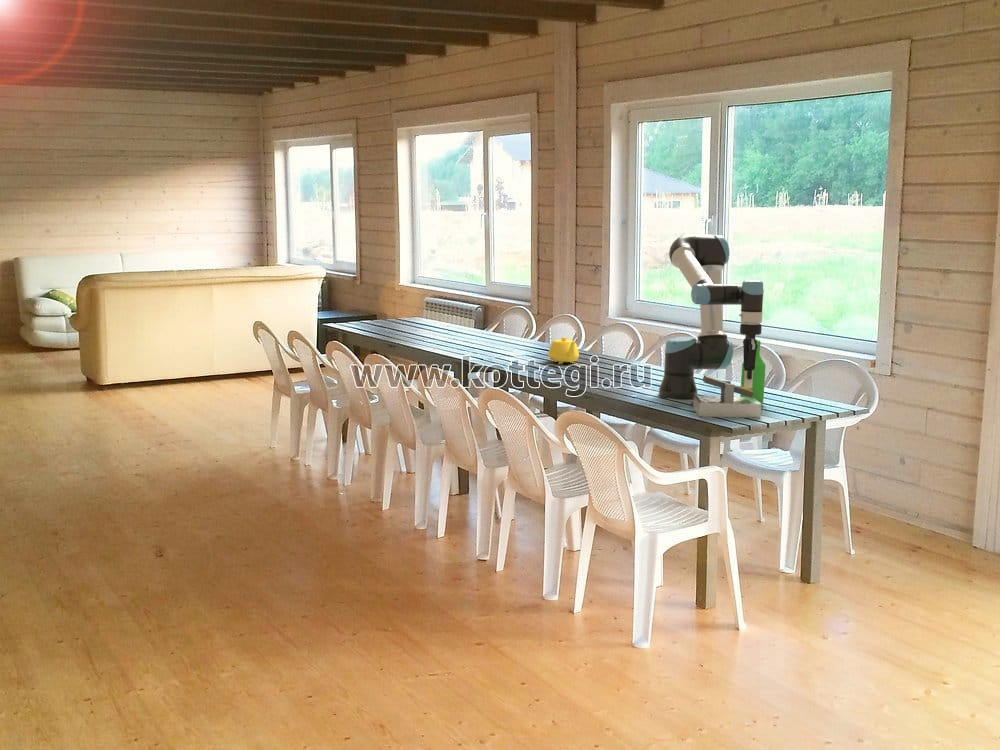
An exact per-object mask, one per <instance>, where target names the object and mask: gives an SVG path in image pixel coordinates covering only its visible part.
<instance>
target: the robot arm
mask: <svg viewBox="0 0 1000 750" xmlns="http://www.w3.org/2000/svg"><path fill="white" fill-rule="evenodd" d="M668 255H669V256H668V257H669V260H670V262H671V263H672V265H673V266H674V267H675V268H677V269H679V271H680V272H681V273H682V275H683V277H684V278H685V281H687V282H688V284H689V285H690V287H691V291H690V297H691V301H692V303H693V304H695V305H699V307H700V308H699V309H700V311H699V312H700V314H699V315H700V332H699V334H698V335H697V339H696V338H695V337H694V336H685V335H684V336H675V337H672V338H669V339H667V340H666V342H665V349H664V370H663V378H662V381H661V383H660V386H659V389H658V395H659V396H660V397H663V398H666V399H667V398H668V399H675V400H677V399H678V400H679V399H680V400H685V399H689V400H690V399H694V393H695V394H696V395H697V396H698V389H697V385H696V382H695V381H696V380H695V377H694V375H695V373H694V372H695V370H713V371H714V370H715V371H717V370H724V369H727V368H728V367H729V366H730V364H731V362H732V360H733V357H734V356H733V355H734V345H733V342H732V341H731V340H730V339H728V334H727V333H725V331H724V323H723V322H724V321H723V305H726V306H727V305H731V306H732V305H734V306H735V305H736V306H737V305H740V313H739V315H738V316H739V317H740V322H741V323H740V325H739V327H740V328H739V333H740V334H741V335H745V336H744V339H743V340H742V345H743V362H744V365H743V366H744V368H745V369H744V370H745V375H744V388H752V383H753V370H754V369H755V360H756V350H757V340H758V339H756V336H759V335H761V334H762V330H763V329H762V328H763V327H762V324H761V323H762V322H763V304H764V301H763V300H764V292H765V291H764V282H763V281H762V280H756V279H755V280H754V279H752V280H751V279H747V280H746V279H745V280H743V281H742V283H734V284H733V283H731V284H730V283H729V284H728V283H727V284H726V283H725V284H724V283H723V284H722V271H723V270H724V269H725V265H726V264H728V262H729V260H730V247H729V243H728V241H727V239H726V237H725V236H723V235H720V234H684V235H680V237H677V238H676V239H675V240H674V241H673V242H672V244H671V246H670V247H669V251H668Z"/></svg>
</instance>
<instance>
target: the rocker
mask: <svg viewBox="0 0 1000 750" xmlns="http://www.w3.org/2000/svg"><path fill="white" fill-rule="evenodd" d="M724 381H725V380H720V379H717V378H716V377H713V376H711V375H708V374H707V375H706V374H704V375H703V377H702V382H704V384H708V385H711V386H714V387H716V388H720V389H721V388H723V389H725V384H730V383H727V382H724ZM734 394H737V395H740V394H741V395H744V396H747V397H751V398H752V395H753V391H752V390H751V389H748V388H744V387H742V386H741V385H737V384H736V385H735V384H734Z"/></svg>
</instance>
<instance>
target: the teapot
mask: <svg viewBox="0 0 1000 750" xmlns="http://www.w3.org/2000/svg"><path fill="white" fill-rule="evenodd" d="M579 355H580V353H579V349H578V345H577V343H576V340H571V339H568V337H566V336H561V339H553V341H552V342H551V344H550V347H549V350H548V357H549V359H550V360H551V361H552V362H553V361H558V362H557V363H558V364H559V363H569V362H571V363H573V362H577V361H578V359H579V358H580V357H579Z"/></svg>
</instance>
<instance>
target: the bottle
mask: <svg viewBox="0 0 1000 750" xmlns="http://www.w3.org/2000/svg"><path fill="white" fill-rule="evenodd" d="M756 340H757V350H756V360H755V369H754V370H753V383H752V388H748V389H751V390H752V391H753V395H752V397H754V398H755V399H756V400H757V401H758V402H759V403H761V406H763V404H764V396H765V384H766V383H765V381H766V365H767V364H766V363H765V361H764V360H763V358H762V356H761V354H760V353H761V345H762V342H761V340H760V339H756ZM743 365H744V361H743V362H742V365H741V374H740V375H741V376H740V386H742V387H744V375H745V370H744V369H745V368H744V366H743ZM739 395H740V396H739V397H747V396H744V395H741V394H739Z"/></svg>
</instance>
